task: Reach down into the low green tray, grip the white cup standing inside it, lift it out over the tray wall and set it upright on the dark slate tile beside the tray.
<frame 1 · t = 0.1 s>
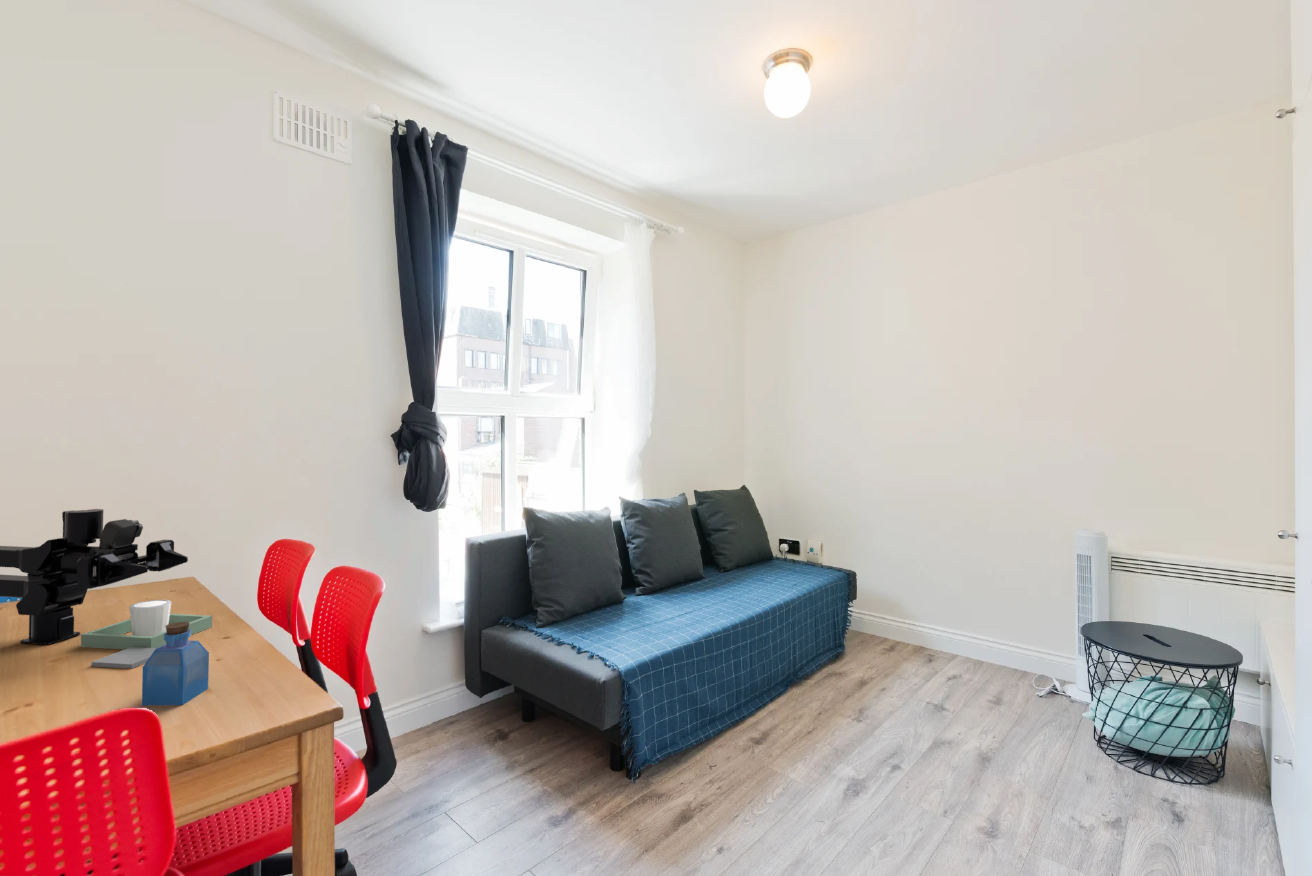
hand: (167, 564, 122), 17 cm above the table, tool horizontal, fingers open, 9 cm apart
green tray: (150, 636, 128), on the table
perfume bottle: (176, 698, 100), on the table
white cup: (150, 637, 128), resting in green tray
slate tile: (131, 659, 115), on the table
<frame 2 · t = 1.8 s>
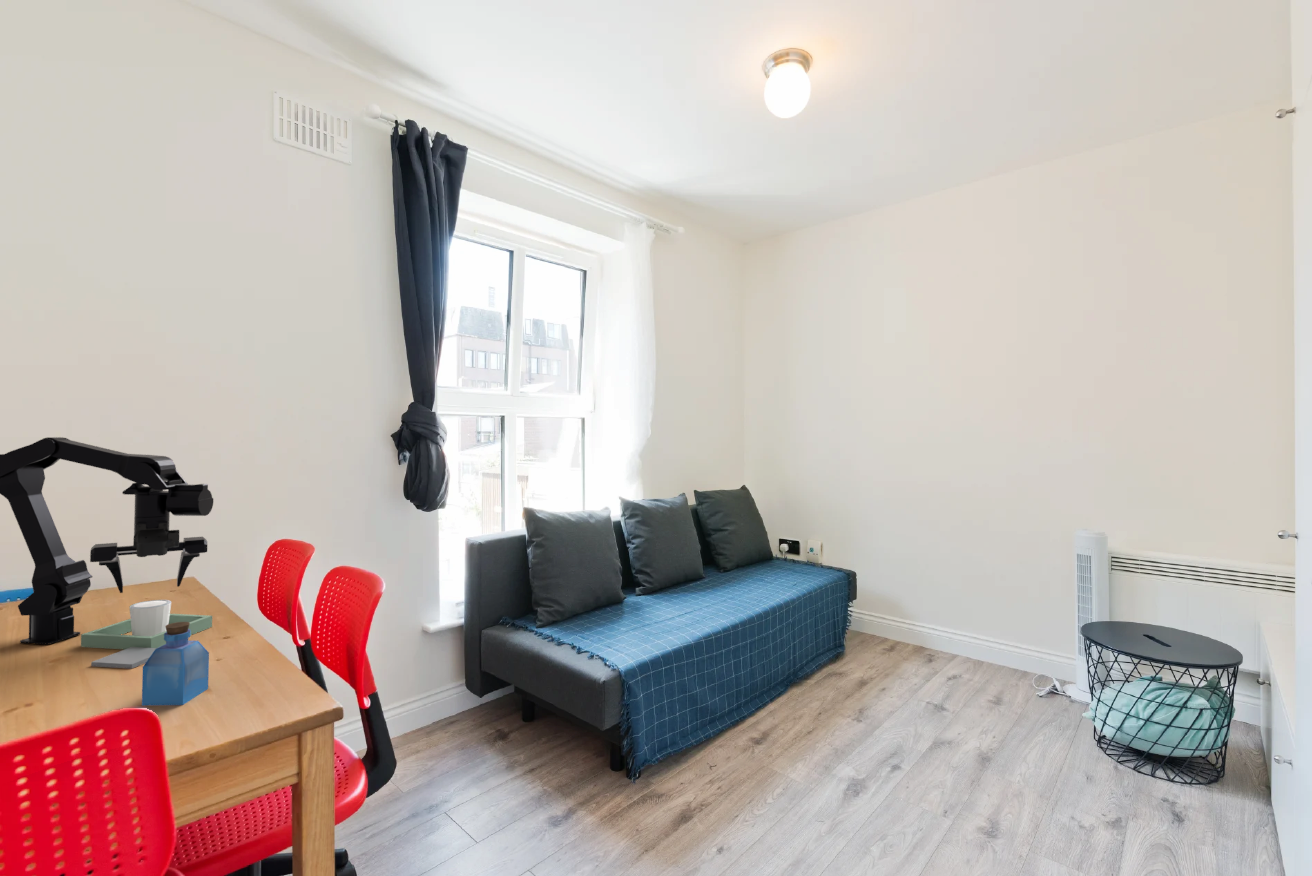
hand: (150, 589, 127), 10 cm above the table, tool pointing down, fingers open, 9 cm apart
nothing on the table moved.
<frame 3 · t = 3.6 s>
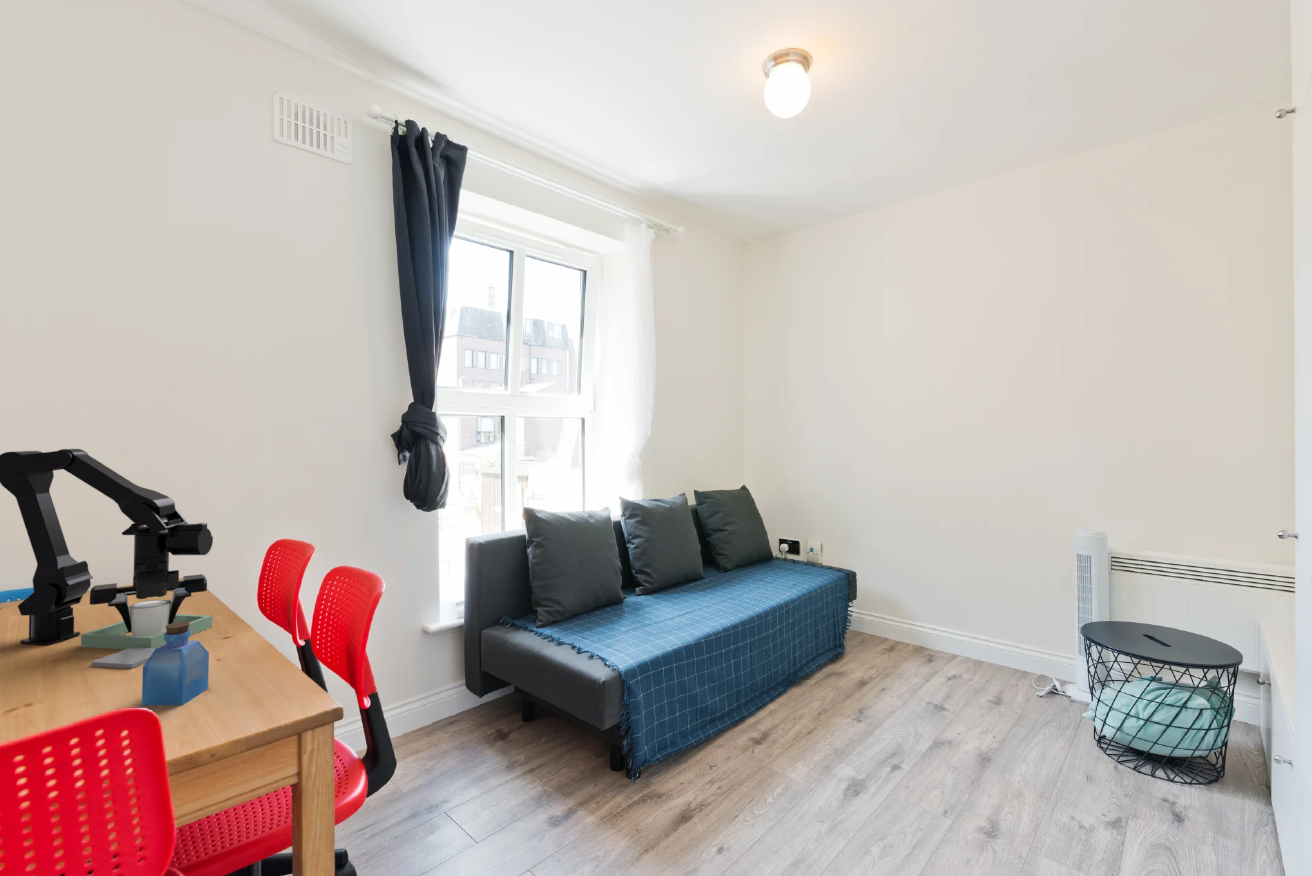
hand: (150, 629, 127), 2 cm above the table, tool pointing down, fingers closed on white cup, 6 cm apart
white cup: (150, 637, 127), resting in green tray, touching gripper
everything else where it was.
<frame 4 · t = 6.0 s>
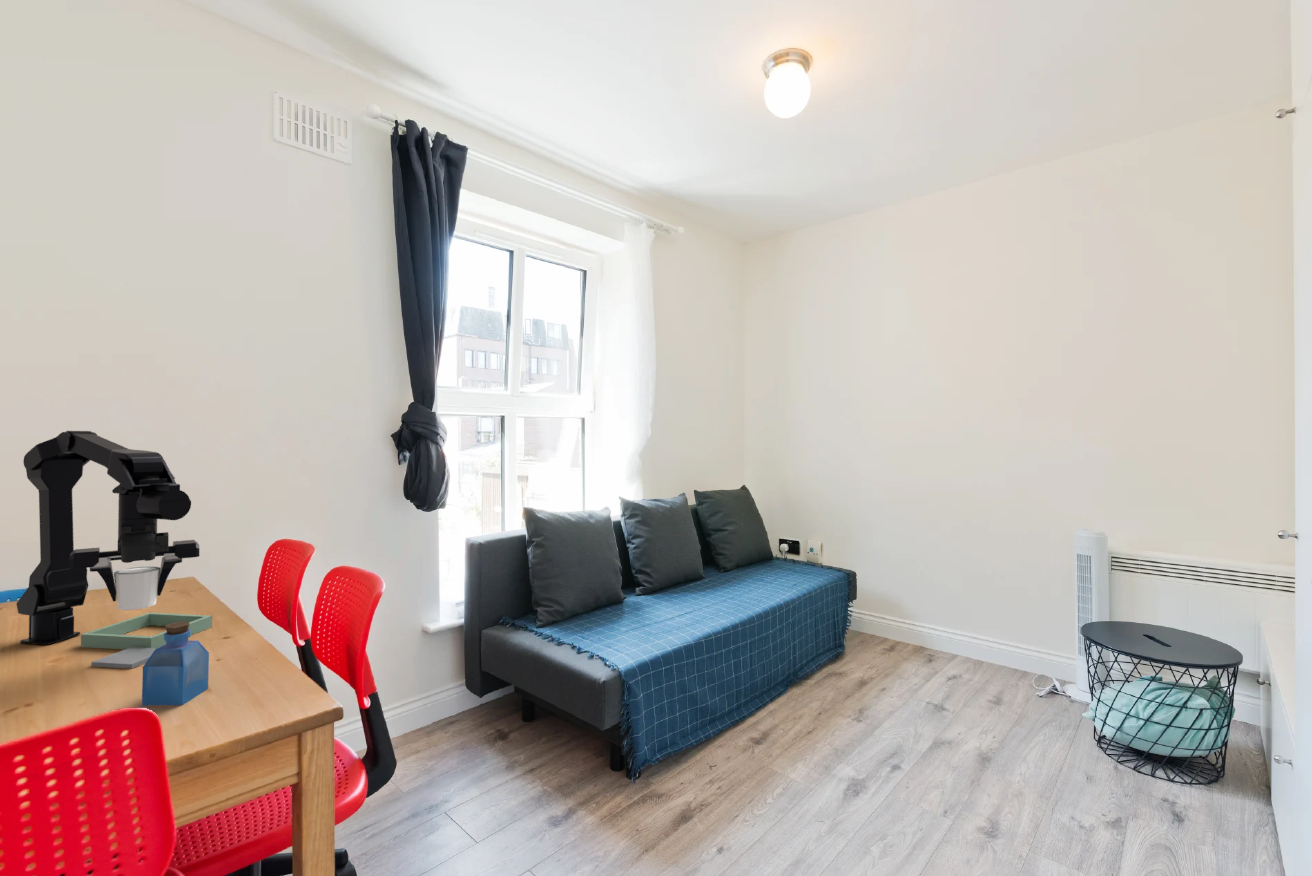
hand: (137, 598, 116), 11 cm above the table, tool pointing down, fingers closed on white cup, 6 cm apart
white cup: (137, 607, 116), point 10 cm above the table, touching gripper
everything else where it was.
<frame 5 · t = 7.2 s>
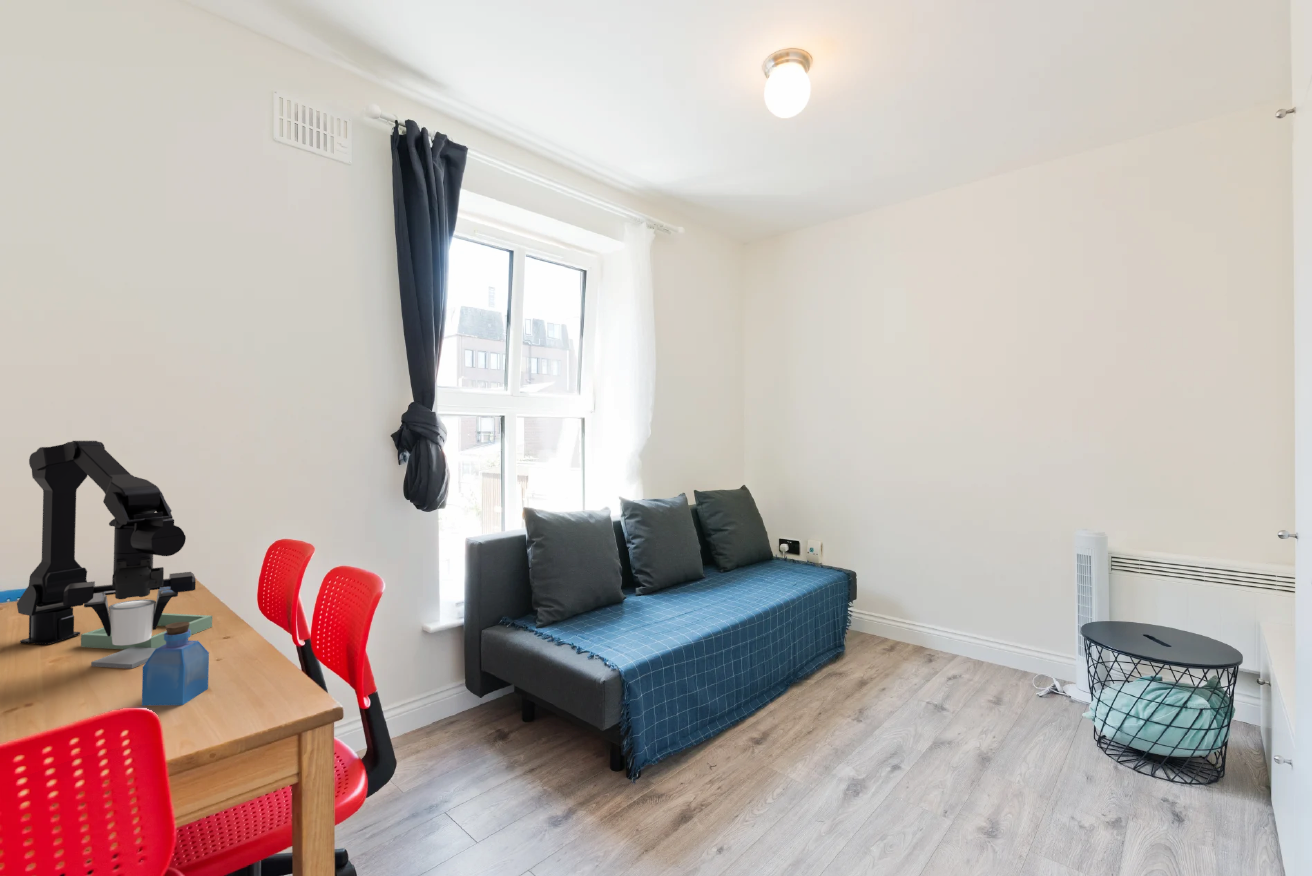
hand: (132, 632, 115), 5 cm above the table, tool pointing down, fingers closed on white cup, 6 cm apart
white cup: (131, 641, 115), point 3 cm above the table, touching gripper
everything else where it was.
when the fingers open (3 cm above the table, at t = 8.4 s): white cup drops 1 cm, resting on slate tile.
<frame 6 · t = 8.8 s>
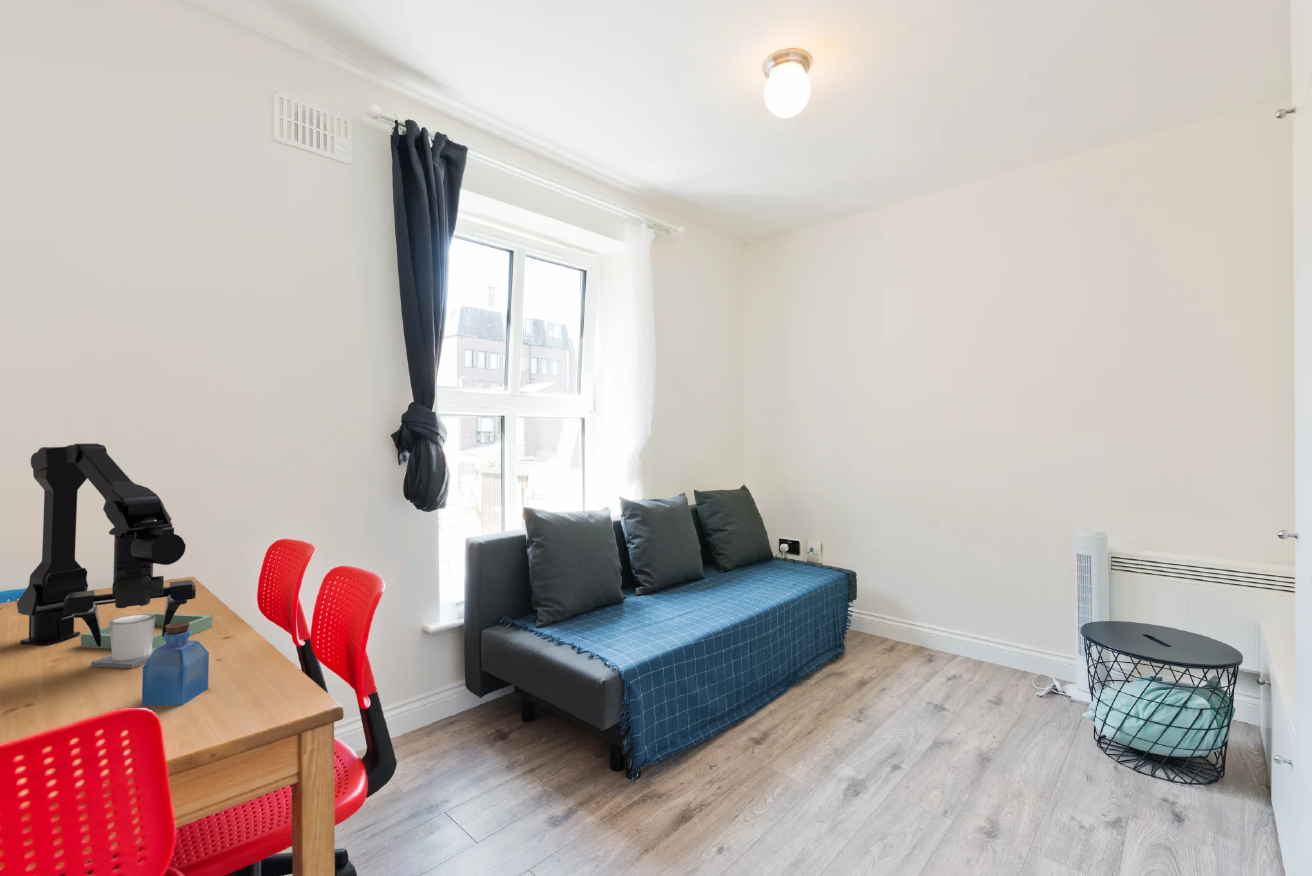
hand: (132, 641, 115), 3 cm above the table, tool pointing down, fingers open, 9 cm apart
white cup: (131, 656, 115), point 1 cm above the table, touching slate tile
everything else where it was.
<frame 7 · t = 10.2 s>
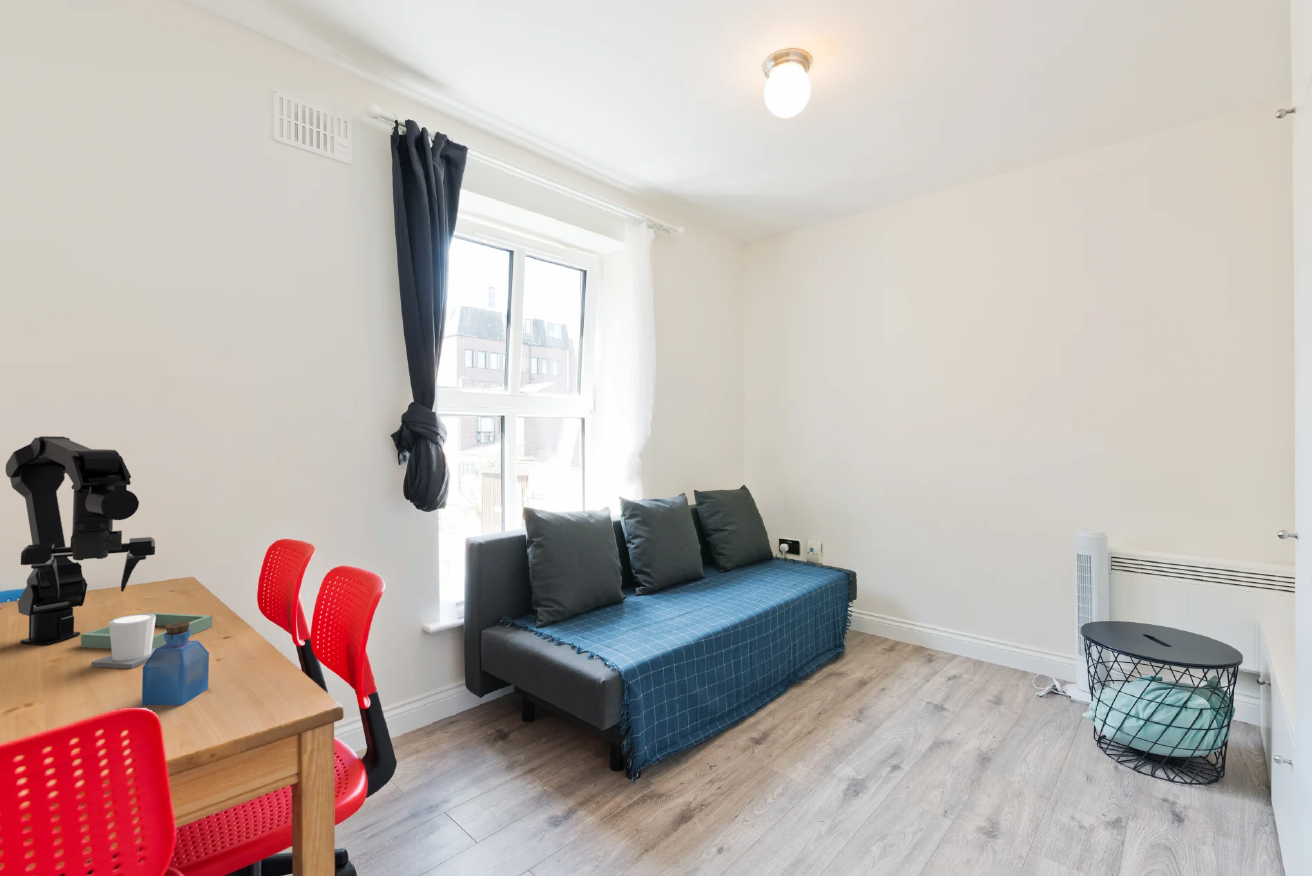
hand: (90, 594, 117), 12 cm above the table, tool pointing down, fingers open, 9 cm apart
nothing on the table moved.
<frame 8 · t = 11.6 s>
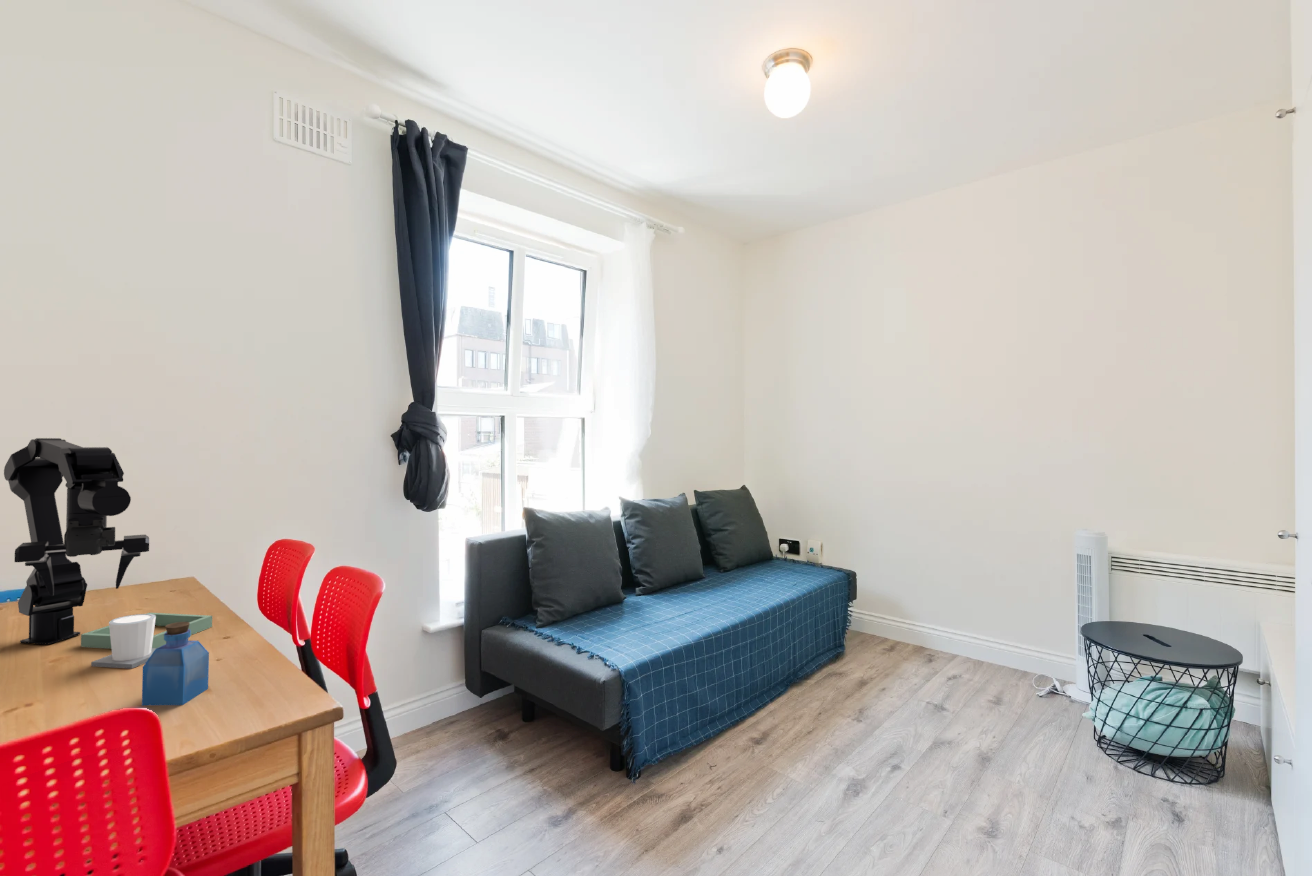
hand: (85, 591, 117), 12 cm above the table, tool pointing down, fingers open, 9 cm apart
nothing on the table moved.
at the end: white cup 0.1 cm off-centre on the slate tile, point 0.6 cm above the slate tile's base; white cup tilted 0°; the gripper is holding nothing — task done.
